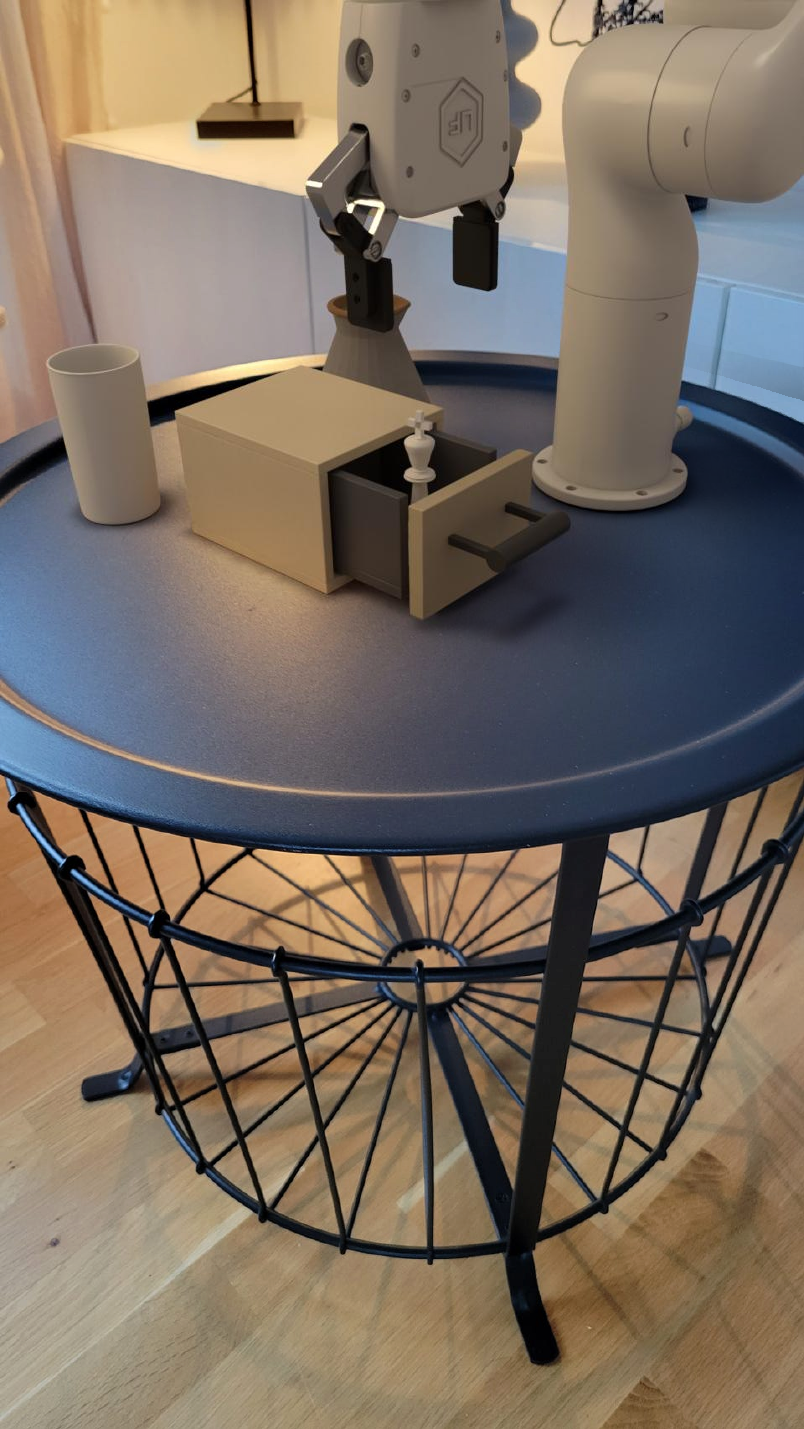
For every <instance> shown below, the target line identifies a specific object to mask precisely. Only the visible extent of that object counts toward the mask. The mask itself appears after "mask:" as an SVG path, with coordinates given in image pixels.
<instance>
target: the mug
mask: <svg viewBox="0 0 804 1429" xmlns="http://www.w3.org/2000/svg"><path fill="white" fill-rule="evenodd" d="M141 362H142V361H141V353H140V352H139V350H137V349H136V348H134V347H133V346H129V345H125V344H119V343H91V344H84V345H78V346H73V347H69V348H66V349H63V350H60V351H58V352H55V353H53V354H52V355H51V356H49V357H48V358H47V360H46V362H45V365H46V369H47V374H48V378H49V384H50V388H51V393H52V397H53V401H54V405H55V409H56V414H57V417H58V421H59V425H60V429H61V434H62V439H63V442H64V445H65V450H66V455H67V459H68V463H69V467H70V469H71V475H72V478H73V483H74V487H75V491H76V493H77V498H78V502H79V507H80V510H81V513H82V515H83V516H84V518H85V519H87V520H88V521H90V522H93V523H95V524H96V523H97V524H100V525H125V524H130V523H135V522H139V521H141V520H145V519H146V518H149V517H151V516H152V515H153V514H155V513H156V512H157V511H158V510H159V508H160V507H161V502H162V500H161V494H160V493H161V492H160V487H159V476H158V469H157V462H156V456H155V455H156V454H155V450H154V449H155V448H154V442H153V436H152V428H151V420H150V414H149V407H148V400H147V394H146V393H147V392H146V385H145V378H144V372H143V367H142V363H141Z"/></svg>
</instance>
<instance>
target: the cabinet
mask: <svg viewBox="0 0 804 1429" xmlns="http://www.w3.org/2000/svg"><path fill="white" fill-rule="evenodd" d="M417 410H422V411H424V420H425V421H429V422H432V429H435V430H438V431H441V432H444V426H445V425H444V423H445V422H444V418H445V416H444V415H445V408H443V407H441V406H437V405H434V404H432V403H431V404H428V403H425V402H421V401H418V400H415V399H411V398H408V397H405V396H402V395H398V394H395V393H392V392H388V391H385V390H382V389H378V388H375V387H372V386H369V385H365V384H362V383H359V382H355V381H352V380H349V379H346V378H342V377H339V376H336V375H332V374H329V373H326V372H323V371H322V370H319V369H316V368H314V367H313V368H312V367H309V366H306V365H303V364H300V365H297V366H295V367H292V368H288V369H287V370H283V371H281V372H278V373H274V374H272V375H270V376H268V377H264V378H261V379H258V380H256V381H253V382H250V383H248V384H246V385H242V386H239V387H237V388H235V389H232V390H228V391H226V392H222V393H221V394H217V395H215V396H212V397H210V398H206V399H204V400H201V401H198V402H195V403H192V404H190V405H187V406H185V407H182V408H179V409H177V410H174V414H175V415H174V417H175V423H176V430H177V436H178V443H179V448H180V449H179V450H180V457H181V462H182V470H183V476H184V482H185V490H186V496H187V503H188V510H189V516H190V522H191V523H190V524H191V531H192V533H194V534H196V535H199V536H201V537H203V538H205V539H207V540H209V541H212V542H213V543H215V544H218V545H220V546H222V547H223V548H227V549H228V550H230V551H233V552H235V553H237V554H240V555H241V556H244V557H246V558H248V559H250V560H252V561H254V562H257V563H258V564H261V565H263V566H265V567H268V568H270V569H272V570H274V571H276V572H278V573H280V574H282V575H284V576H287V577H289V578H291V579H294V580H295V581H297V582H300V583H302V584H304V585H306V586H309V587H311V588H313V589H315V590H317V591H319V592H322V593H323V594H326V595H329V594H330V593H332V592H333V591H335V590H337V589H339V588H341V587H343V586H345V585H347V584H348V583H350V582H352V581H353V580H355V579H354V578H352V577H350V576H347V575H345V574H343V573H341V572H338V571H336V570H334V569H333V555H332V539H331V523H330V507H329V491H328V475H327V472H328V471H330V470H332V469H335V468H337V467H339V466H341V465H343V464H346V463H348V462H350V461H352V460H354V459H356V458H359V457H361V456H363V455H365V454H367V453H370V452H372V451H374V450H376V449H378V448H381V447H383V446H385V445H387V444H389V443H391V442H394V441H396V440H398V439H400V438H402V437H405V436H407V435H409V434H411V433H413V432H415V428H414V427H409V426H407V419H408V418H410V417H411V418H415V411H417Z"/></svg>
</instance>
